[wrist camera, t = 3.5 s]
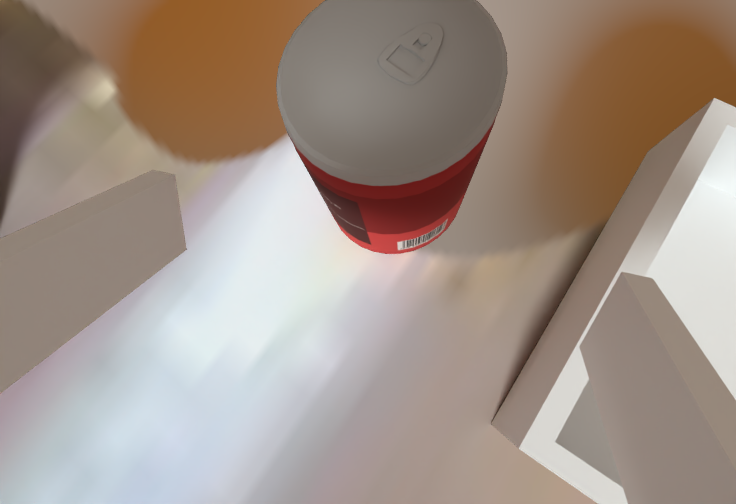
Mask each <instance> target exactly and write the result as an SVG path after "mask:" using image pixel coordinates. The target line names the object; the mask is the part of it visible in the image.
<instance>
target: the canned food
mask: <svg viewBox="0 0 736 504" xmlns="http://www.w3.org/2000/svg"><path fill="white" fill-rule="evenodd" d="M506 77H507V52H506V49H505V45H504V42H503V38H502V35H501V32H500V31H499V29H498V27H497V25H496V23H495V22H494V20H493V18H492V16H490V14H489V13H488V12H487V11H486V10H485V9H484V8H483V6H482V5H481V4H480V3H479V2H478V1H476V0H325V1H324V2H322V3H321V4H320V5H319V6H318V7H317V8H315V9H314V10H313V11H312V12H311V13H309V14H308V15H307V17H306V18H305V19H304V20H303V21H302V22H301V24H300V25H299V26H298V27H297V29H296V30H295V31H294V33H293V34H292V36H291V38H290V40H289V41H288V43H287V45H286V47H285V49H284V52H283V55H282V58H281V61H280V64H279V66H278V75H277V83H276V88H277V97H278V98H277V99H278V106H279V109H280V112H281V115H282V118H283V121H284V124H285V127H286V130H287V133H288V135H289V137H290V138H291V140H292V142H293V144H294V146H295V149H296V151H297V153H298V154H299V156H300V158H301V160H302V162H303V163H304V165H305V167H306V169H307V170H308V172H309V174H310V176H311V178H312V179H313V181H314V183H315V185H316V187H317V188H318V190H319V192H320V194H321V196H322V197H323V199H324V201H325V203H326V205H327V206H328V208H329V210H330V212H331V214H332V215H333V217H334V219H335V221H336V222H337V224H338V225H339V227H340V229H341V230H342V231H343V232H344V233H345V234H346V236H347V237H348V238H349V239H350V240H352V241H353V242H355V243H356V244H358V245H359V246H361V247H363V248H366V249H368V250H371V251H374V252H379V253H385V254H400V253H405V252H410V251H414V250H416V249H419V248H421V247H424V246H426V245H428V244H429V243H431V242H432V241H434V240H435V239H437V238H438V237H439V236H440V235H441V234H442V233H443V232H444V231H445V230H446V229H447V228H448V227H449V226H450V224H451V222H452V221H453V220H454V218H455V217H456V214H457V212H458V210H459V207H460V205H461V203H462V200H463V198H464V195H465V193H466V190H467V188H468V185H469V183H470V181H471V178H472V176H473V173H474V171H475V168H476V166H477V164H478V161H479V159H480V156H481V154H482V152H483V149H484V147H485V144H486V142H487V139H488V137H489V134H490V132H491V130H492V127H493V125H494V122H495V118H496V116H497V113H498V111H499V108H500V106H501V102H502V97H503V92H504V88H505V82H506Z"/></svg>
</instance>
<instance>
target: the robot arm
mask: <svg viewBox="0 0 736 504" xmlns="http://www.w3.org/2000/svg"><path fill="white" fill-rule="evenodd" d="M185 250H187V249H186V243H185V236H184V230H183V223H182V217H181V211H180V204H179V198H178V192H177V185H176V179H175V175H174V174H170V173H165V172H160V171H156V170H152V171H150V172H147V173H145V174H143V175H141V176H138V177H136V178H134V179H132V180H130V181H127V182H125V183H123V184H121V185H118V186H116V187H114V188H112V189H109V190H107V191H105V192H103V193H101V194H98V195H96V196H94V197H92V198H89V199H87V200H85V201H83V202H81V203H78V204H76V205H74V206H72V207H69V208H67V209H65V210H63V211H61V212H58V213H56V214H54V215H52V216H49V217H47V218H45V219H43V220H40V221H38V222H36V223H34V224H32V225H29V226H27V227H25V228H23V229H20V230H18V231H16V232H14V233H12V234H9V235H7V236H5V237H3V238H0V393H1V392H3V391H4V390H5V389H7V388H8V387H9V386H11V385H12V384H13V383H14V382H16V381H17V380H18V379H20V378H21V377H22V376H23V375H25V374H26V373H27V372H29V371H30V370H31V369H33V368H34V367H35V366H36V365H38V364H39V363H40V362H42V361H43V360H44V359H45V358H47V357H48V356H49V355H51V354H52V353H53V352H55V351H56V350H57V349H58V348H60V347H61V346H62V345H64V344H65V343H66V342H67V341H69V340H70V339H71V338H73V337H74V336H75V335H77V334H78V333H79V332H80V331H82V330H83V329H84V328H86V327H87V326H88V325H89V324H91V323H92V322H93V321H95V320H96V319H97V318H99V317H100V316H101V315H102V314H104V313H105V312H106V311H108V310H109V309H110V308H111V307H113V306H114V305H115V304H117V303H118V302H119V301H121V300H122V299H123V298H124V297H126V296H127V295H128V294H130V293H131V292H132V291H133V290H135V289H136V288H137V287H139V286H140V285H141V284H143V283H144V282H145V281H146V280H148V279H149V278H150V277H152V276H153V275H154V274H155V273H157V272H158V271H159V270H161V269H162V268H163V267H165V266H166V265H167V264H168V263H170V262H171V261H172V260H174V259H175V258H176V257H177V256H179V255H180V254H181V253H183V252H184V251H185ZM579 347H580V350H581V354H582V357H583V360H584V363H585V367H586V370H587V373H588V376H589V380H590V383H591V386H592V389H593V392H594V396H595V399H596V402H597V405H598V409H599V412H600V415H601V418H602V422H603V425H604V428H605V431H606V435H607V438H608V441H609V444H610V447H611V451H612V454H613V457H614V460H615V464H616V467H617V470H618V473H619V477H620V480H621V483H622V486H623V489H624V493H625V496H626V499H627V502H628V504H736V400H735V398H734V397H733V395H732V394H731V392H730V391H729V389H728V388H727V386H726V385H725V384H724V382H723V381H722V379H721V378H720V376H719V375H718V373H717V372H716V370H715V369H714V367H713V366H712V364H711V363H710V362H709V360H708V359H707V357H706V356H705V354H704V353H703V351H702V350H701V348H700V347H699V345H698V344H697V342H696V341H695V339H694V338H693V337H692V335H691V334H690V332H689V331H688V329H687V328H686V326H685V325H684V323H683V322H682V320H681V319H680V317H679V316H678V315H677V313H676V312H675V310H674V309H673V307H672V306H671V304H670V303H669V301H668V300H667V298H666V297H665V295H664V294H663V292H662V291H661V290H660V288H659V287H658V285H657V284H656V282H655V281H654V279H653V278H649V277H644V276H640V275H635V274H631V273H626V272H621V273H620V275H619V277H618V279H617V281H616V282H615V284H614V286H613V288H612V289H611V291H610V293H609V295H608V297H607V298H606V300H605V302H604V304H603V305H602V307H601V309H600V311H599V312H598V314H597V316H596V318H595V320H594V321H593V323H592V325H591V327H590V328H589V330H588V332H587V334H586V336H585V337H584V339H583V341H582V343H581V344H580V346H579Z"/></svg>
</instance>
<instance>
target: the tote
mask: <svg viewBox="0 0 736 504" xmlns="http://www.w3.org/2000/svg"><path fill="white" fill-rule="evenodd" d="M621 272H626V273H631V274H635V275H640V276H644V277H649V278H653V279H654V281H655V282H656V284H657V285H658V287H659V288H660V290H661V291H662V292H663V294H664V295H665V297H666V298H667V300H668V301H669V303H670V304H671V306H672V307H673V309H674V310H675V312H676V313H677V315H678V316H679V317H680V319H681V320H682V322H683V323H684V325H685V326H686V328H687V329H688V331H689V332H690V334H691V335H692V337H693V338H694V339H695V341H696V342H697V344H698V345H699V347H700V348H701V350H702V351H703V353H704V354H705V356H706V357H707V359H708V360H709V362H710V363H711V364H712V366H713V367H714V369H715V370H716V372H717V373H718V375H719V376H720V378H721V379H722V381H723V382H724V384H725V385H726V386H727V388H728V389H729V391H730V392H731V394H732V395H733V397H734V398H735V400H736V107H734V106H732V105H729V104H727V103H725V102H723V101H720V100H718V99H716V98H714V99H712V100H711V101H710V102H709V103H707V104H706V105H705V106H704V107H702V108H701V109H700V110H699V111H698V112H696V113H695V114H694V115H693V116H691V117H690V118H689V119H688V120H686V121H685V122H684V123H683V124H681V125H680V126H679V127H678V128H676V129H675V130H674V131H673V132H671V133H670V134H669V135H668V136H666V137H665V138H664V139H663V140H661V141H660V142H659V143H658V144H656V145H655V146H654V147H653V148H652V149H650V150H649V151H648V152H647V154H646V156H645V158H644V159H643V161H642V163H641V164H640V166H639V168H638V170H637V171H636V173H635V175H634V177H633V178H632V180H631V182H630V184H629V185H628V187H627V189H626V190H625V192H624V194H623V196H622V197H621V199H620V201H619V203H618V204H617V206H616V208H615V209H614V211H613V213H612V215H611V216H610V218H609V220H608V222H607V223H606V225H605V227H604V229H603V230H602V232H601V234H600V235H599V237H598V239H597V241H596V242H595V244H594V246H593V248H592V249H591V251H590V253H589V255H588V256H587V258H586V260H585V262H584V263H583V265H582V267H581V268H580V270H579V272H578V274H577V275H576V277H575V279H574V281H573V282H572V284H571V286H570V288H569V289H568V291H567V293H566V294H565V296H564V298H563V300H562V301H561V303H560V305H559V307H558V308H557V310H556V312H555V314H554V315H553V317H552V319H551V320H550V322H549V324H548V326H547V327H546V329H545V331H544V333H543V334H542V336H541V338H540V340H539V341H538V343H537V345H536V347H535V348H534V350H533V352H532V353H531V355H530V357H529V359H528V360H527V362H526V364H525V366H524V367H523V369H522V371H521V373H520V374H519V376H518V378H517V379H516V381H515V383H514V385H513V386H512V388H511V390H510V392H509V393H508V395H507V397H506V399H505V400H504V402H503V404H502V406H501V407H500V409H499V411H498V412H497V414H496V416H495V418H494V419H493V421H492V423H491V425H493V426H494V427H495V428H496V429H497V430H498V431H499V432H500V433H502V434H503V435H504V436H505V437H506V438H507V439H508V440H510V441H511V442H512V443H513V444H514V445H515V446H516V447H517V448H519V449H520V450H521V451H523V452H524V453H526V454H527V455H529V456H530V457H532V458H533V459H534V460H536V461H537V462H539V463H540V464H542V465H543V466H545V467H546V468H547V469H549V470H550V471H552V472H553V473H555V474H556V475H557V476H559V477H560V478H562V479H563V480H565V481H566V482H568V483H569V484H570V485H572V486H573V487H575V488H576V489H578V490H579V491H581V492H582V493H583V494H585V495H586V496H588V497H589V498H591V499H592V500H594V501H595V502H596V503H598V504H628V502H627V499H626V496H625V493H624V489H623V486H622V483H621V480H620V477H619V473H618V470H617V467H616V464H615V460H614V457H613V454H612V451H611V447H610V444H609V441H608V438H607V435H606V431H605V428H604V425H603V422H602V418H601V415H600V412H599V409H598V405H597V402H596V399H595V396H594V392H593V389H592V386H591V383H590V380H589V376H588V373H587V370H586V367H585V363H584V360H583V357H582V354H581V350H580V347H579V346H580V344H581V343H582V341H583V339H584V337H585V336H586V334H587V332H588V330H589V328H590V327H591V325H592V323H593V321H594V320H595V318H596V316H597V314H598V312H599V311H600V309H601V307H602V305H603V304H604V302H605V300H606V298H607V297H608V295H609V293H610V291H611V289H612V288H613V286H614V284H615V282H616V281H617V279H618V277H619V275H620V273H621Z"/></svg>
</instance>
